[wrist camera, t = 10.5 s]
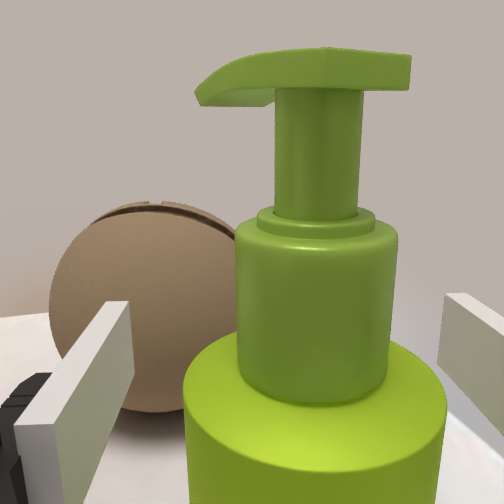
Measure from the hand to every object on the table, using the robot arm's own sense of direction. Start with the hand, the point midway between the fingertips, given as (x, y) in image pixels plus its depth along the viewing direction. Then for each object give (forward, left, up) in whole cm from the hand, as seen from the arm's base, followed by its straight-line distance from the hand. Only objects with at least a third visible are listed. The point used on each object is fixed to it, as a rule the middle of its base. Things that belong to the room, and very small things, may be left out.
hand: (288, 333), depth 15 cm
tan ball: (-18, +2, -13) cm, 22 cm away
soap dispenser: (+3, -2, -12) cm, 13 cm away
